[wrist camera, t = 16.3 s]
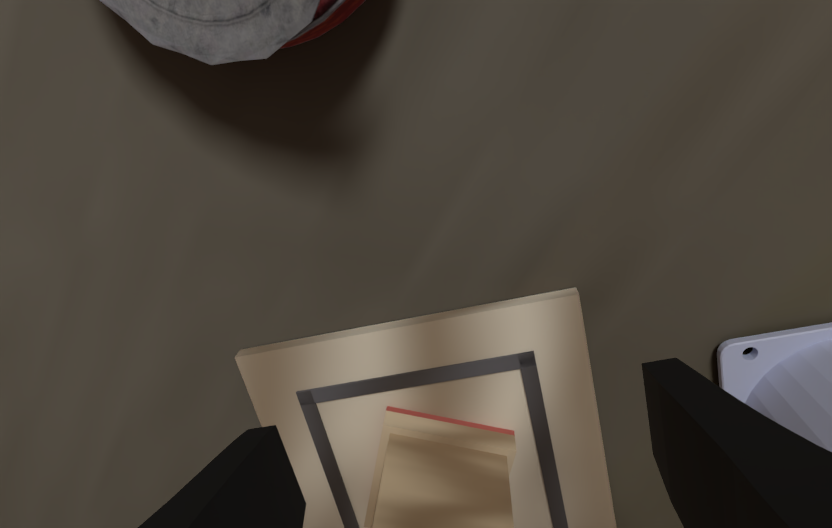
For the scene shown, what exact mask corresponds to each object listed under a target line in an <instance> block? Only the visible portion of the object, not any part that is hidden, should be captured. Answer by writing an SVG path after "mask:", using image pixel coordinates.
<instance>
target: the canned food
mask: <svg viewBox="0 0 832 528" xmlns="http://www.w3.org/2000/svg"><path fill="white" fill-rule="evenodd" d="M100 1H101V2H102V3H103V4H105V5H106V6H107V7H109V8H110V9H111V10H113V11H114V12H115V13H116V14H118V15H119V16H120V17H122V18H123V19H124V20H126V21H127V22H128V23H129V24H130V25H131V26H132V27H134V28H135V29H136V30H137V31H138V32H139V33H140V34H141V35H143V36H144V37H145V38H146V39H147V40H148V41H149V42H150V43H152V44H153V45H156V46H159V47H162V48H166V49H169V50H172V51H175V52H179V53H182V54H185V55H187V56H190V57H192V58H195V59H197V60H200V61H202V62H204V63H207V64H209V65H216V64H222V63H229V62H236V61H245V60H257V59H267V58H269V57H270V56H271V55H272V54H274V53H275V52H276V51H277V50H278V49H281V48H289V47H293V46H295V45H298V44H301V43H304V42H307V41H310V40H313V39H315V38H318V37H320V36H321V35H323V34H325V33H326V32H328V31H329V30H331V29H333V28H334V27H336V26H338V25H339V24H341V23H342V22H344V21H345V20H346V19H347V18H348V17H349V16H350V15H351V14H352V13H353V12H354V11H355V10H356V9H357V8H358V7H359V6H360V5H362V4H363V3H364V2H365V1H366V0H100Z"/></svg>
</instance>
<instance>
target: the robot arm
mask: <svg viewBox="0 0 832 528" xmlns="http://www.w3.org/2000/svg"><path fill="white" fill-rule="evenodd" d="M749 347H753V350H752V351H751V352H750V353H749V354H746V355H742V354H743V351H744V350H745V349H747V348H749ZM717 363H718V376H719V386H717V385H716V384H714V383H713V382H711V381H710V380H708V379H707V378H705V377H704V376H702V375H701V374H700V373H698V372H697V371H695V370H694V369H692V368H691V367H689V366H688V365H686V364H685V363H683V362H682V361H680V360H679V359H677V358H671V359H665V360H659V361H654V362H648V363H642V370H643V378H644V386H645V394H646V402H647V410H648V418H649V426H650V434H651V441H652V449H653V455H654V457H655V460H656V463H657V465H658V468H659V471H660V474H661V476H662V479H663V482H664V484H665V487H666V490H667V492H668V495H669V497H670V500H671V502H672V505H673V507H674V509H675V511H676V512H677V514H678V516H679V518H680V520H681V522H682V524H683V526H684V528H832V322H831V323H825V324H819V325H813V326H807V327H801V328H795V329H789V330H783V331H777V332H771V333H765V334H759V335H753V336H747V337H741V338H735V339H730V340H727V341H724V342H723V343H722V344H720V346H719V347H718V349H717ZM305 509H306V502H305V499H304V497H303V494H302V491H301V489H300V486H299V484H298V481H297V478H296V476H295V473H294V471H293V468H292V465H291V463H290V460H289V458H288V455H287V452H286V450H285V447H284V445H283V442H282V440H281V437H280V434H279V432H278V429H277V427H276V425H272V426H266V427H260V428H254V429H248V430H247V431H246V432H244V433H243V434H242V435H240V436H239V437H238V438H237V439H236V440H234V441H233V442H232V443H231V444H230V445H229V446H228V447H226V448H225V449H224V450H223V451H222V452H221V453H220V454H219V455H218V456H217V457H216V458H214V459H213V460H212V461H211V462H210V463H209V464H208V465H207V466H206V467H205V468H204V469H203V470H202V471H201V472H199V473H198V474H197V475H196V476H195V477H194V478H193V479H192V480H191V481H190V482H189V483H188V484H187V485H185V486H184V487H183V488H182V489H181V490H180V491H179V492H178V493H177V494H176V495H175V496H174V497H172V498H171V499H170V500H169V501H168V502H167V503H166V504H165V505H163V506H162V507H161V508H160V509H159V510H158V511H157V512H155V513H154V514H153V515H152V516H151V517H150V518H148V519H147V520H146V521H145V522H144V523H143V524H142V525H140V526H139V527H138V528H303V523H304V516H305Z"/></svg>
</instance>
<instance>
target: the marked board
mask: <svg viewBox="0 0 832 528" xmlns="http://www.w3.org/2000/svg"><path fill="white" fill-rule="evenodd" d="M235 360H236V362H237V365H238V367H239V370H240V372H241V375H242V377H243V380H244V382H245V385H246V388H247V390H248V393H249V395H250V398H251V400H252V403H253V405H254V408H255V411H256V413H257V416H258V418H259V421H260V423H261V426H262V427H266V426H272V425H276V427H277V429H278V432H279V434H280V437H281V440H282V442H283V445H284V447H285V450H286V452H287V455H288V458H289V460H290V463H291V465H292V468H293V471H294V473H295V476H296V478H297V481H298V484H299V486H300V489H301V491H302V494H303V497H304V499H305V502H306V509H305V516H304V523H303V528H367V527H364V522H365V517H366V512H367V507H368V501H369V496H370V491H371V486H372V480H373V475H374V470H375V465H376V459H377V454H378V449H379V444H380V438H381V433H382V428H383V423H384V418H385V413H386V408H387V406H390V407H395V408H400V409H406V410H411V411H416V412H421V413H426V414H431V415H436V416H441V417H446V418H452V419H457V420H462V421H467V422H472V423H477V424H482V425H487V426H492V427H498V428H503V429H508V430H513V431H514V434H515V442H516V450H517V452H516V455H515V458H514V462H513V465H512V468H511V472H510V475H509V483H510V493H511V503H512V513H513V523H514V528H616V522H615V515H614V509H613V503H612V497H611V491H610V484H609V478H608V472H607V466H606V460H605V453H604V447H603V441H602V435H601V428H600V422H599V416H598V410H597V404H596V397H595V391H594V385H593V379H592V372H591V366H590V360H589V354H588V348H587V341H586V335H585V329H584V323H583V317H582V310H581V304H580V298H579V293H578V291H577V289H576V287H575V288H570V289H564V290H559V291H554V292H548V293H543V294H537V295H532V296H527V297H521V298H516V299H511V300H505V301H500V302H494V303H489V304H484V305H478V306H473V307H468V308H462V309H457V310H451V311H446V312H441V313H435V314H430V315H424V316H419V317H414V318H408V319H403V320H398V321H392V322H387V323H381V324H376V325H371V326H365V327H360V328H355V329H349V330H344V331H338V332H333V333H328V334H322V335H317V336H311V337H306V338H301V339H295V340H290V341H285V342H279V343H274V344H268V345H263V346H258V347H252V348H247V349H242V350H240V351H239V352H238V354H237V355H236V356H235Z"/></svg>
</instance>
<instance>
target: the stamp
mask: <svg viewBox="0 0 832 528" xmlns="http://www.w3.org/2000/svg"><path fill="white" fill-rule="evenodd" d="M516 452H517V450H516V442H515V434H514V431H513V430H508V429H503V428H498V427H492V426H487V425H482V424H477V423H472V422H467V421H462V420H457V419H452V418H446V417H441V416H436V415H431V414H426V413H421V412H416V411H411V410H406V409H400V408H395V407H390V406H387V408H386V413H385V418H384V423H383V428H382V433H381V438H380V444H379V449H378V454H377V459H376V465H375V470H374V475H373V480H372V486H371V491H370V496H369V501H368V507H367V512H366V517H365V522H364V527H367V528H514V523H513V513H512V503H511V493H510V483H509V475H510V472H511V468H512V465H513V462H514V458H515V455H516Z"/></svg>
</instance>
